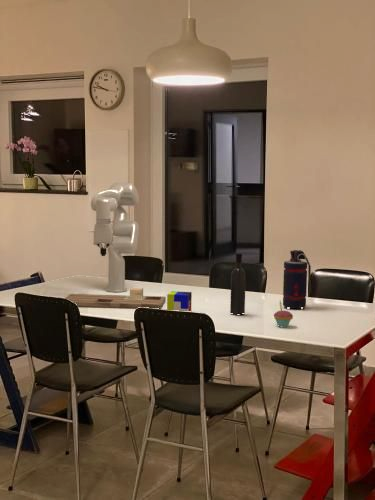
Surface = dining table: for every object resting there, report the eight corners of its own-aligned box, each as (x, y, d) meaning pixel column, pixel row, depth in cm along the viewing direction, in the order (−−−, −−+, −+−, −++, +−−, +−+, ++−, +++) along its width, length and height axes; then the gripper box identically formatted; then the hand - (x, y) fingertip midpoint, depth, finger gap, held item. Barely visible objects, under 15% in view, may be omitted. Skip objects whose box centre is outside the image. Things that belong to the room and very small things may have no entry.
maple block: (132, 297, 359) (132, 287, 358) (143, 297, 358) (143, 288, 358) (129, 298, 353) (129, 289, 352) (141, 299, 352) (141, 289, 352)
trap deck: (70, 298, 366) (70, 293, 365) (165, 301, 362) (165, 296, 362) (59, 306, 342) (59, 301, 341) (160, 309, 338) (160, 304, 338)
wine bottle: (229, 314, 329) (230, 253, 326) (236, 312, 333) (238, 252, 330) (238, 315, 325) (239, 254, 322) (245, 314, 329) (247, 253, 326)
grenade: (284, 309, 343) (286, 251, 340) (281, 305, 355) (282, 249, 352) (311, 310, 343) (313, 252, 340) (307, 306, 354) (309, 249, 351)
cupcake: (270, 326, 302) (271, 300, 301) (278, 323, 309) (279, 297, 308) (287, 329, 298) (288, 302, 297) (295, 325, 305) (296, 299, 304)
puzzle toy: (187, 315, 324) (187, 295, 323) (167, 314, 326) (167, 294, 325) (191, 312, 334) (191, 292, 333) (171, 310, 336) (171, 291, 335)
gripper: (118, 221, 362) (118, 255, 364) (90, 220, 362) (90, 254, 365) (116, 222, 354) (116, 257, 357) (88, 222, 355) (88, 256, 357)
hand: (103, 255), depth 361 cm, fingers closed
